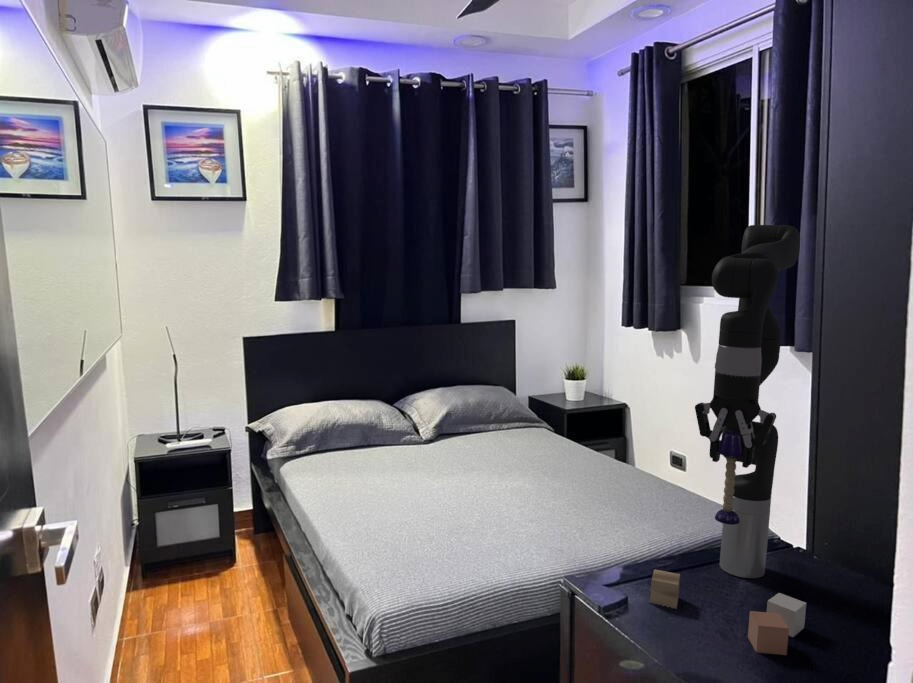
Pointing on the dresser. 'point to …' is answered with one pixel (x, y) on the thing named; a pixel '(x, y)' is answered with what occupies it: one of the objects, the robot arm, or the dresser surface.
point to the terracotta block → (768, 633)
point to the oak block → (665, 588)
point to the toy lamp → (730, 474)
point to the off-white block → (788, 611)
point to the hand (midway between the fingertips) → (730, 463)
